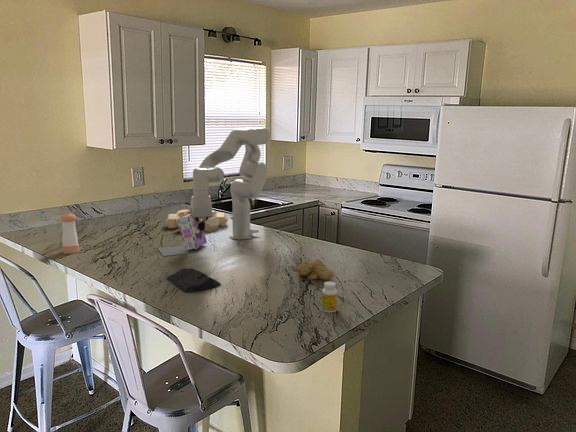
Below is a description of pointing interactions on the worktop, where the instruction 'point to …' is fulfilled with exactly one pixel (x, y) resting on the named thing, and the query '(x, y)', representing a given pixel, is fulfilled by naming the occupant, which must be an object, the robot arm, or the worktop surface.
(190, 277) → the dark slate chunk
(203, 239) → the candy box
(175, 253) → the mat
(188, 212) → the campfire
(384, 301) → the worktop surface
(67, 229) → the salt shaker
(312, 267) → the ginger root
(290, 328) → the worktop surface
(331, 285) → the supplement bottle
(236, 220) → the robot arm
